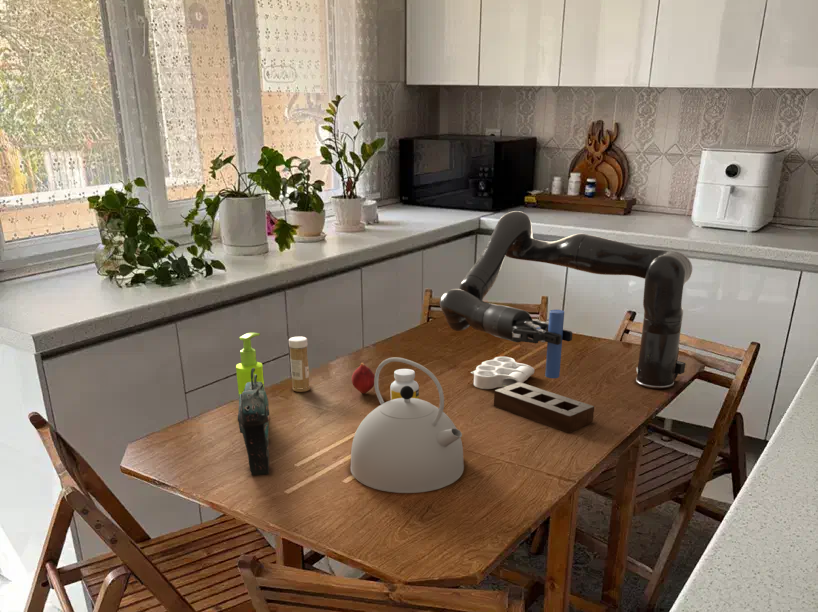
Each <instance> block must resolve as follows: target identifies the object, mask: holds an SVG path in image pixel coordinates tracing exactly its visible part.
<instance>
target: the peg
mask: <svg viewBox="0 0 818 612" xmlns="http://www.w3.org/2000/svg"><path fill="white" fill-rule="evenodd" d="M548 313H549V316H548V319H549V327H548V331H549V332H552V333H556V334H560V335H561V336H562V337H563V329H564V323H565V310H563V309H550V310H549V312H548ZM562 348H563V340H562V339H561V344H559V345H556V344H553V343H549V342H546V359H545V372H544V376H545V378H547V379H558V378H560V375H561V374H560V373H561V361H562V350H563V349H562Z"/></svg>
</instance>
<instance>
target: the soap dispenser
mask: <svg viewBox="0 0 818 612" xmlns="http://www.w3.org/2000/svg"><path fill="white" fill-rule="evenodd" d="M260 335H261V333H259V332H253V331H251V332H247V333H245V334H243V335H241V336H239V341H242V345H243V346H242V347H243V348H242V349H240V351H239V355H240V362H239V363H237V364H236V365H235V371H236V382H237V390H238V391H237V392H238V393H237V394H238V395H239V394H242V392H243V391H244V388H245V385H246V383H247V382H251V369H252V368H255V371H254V372H253V382H254V375H255V374H256V375H257V380H256V382H262V383H263V384H264V385H263V386H264V387H265V380H264V379H265V378H264V367H263V363H262V362H259V361H258V360H257V351H256V348H254V347H252V339H253V338H255V337H259V336H260Z"/></svg>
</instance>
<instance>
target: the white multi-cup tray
mask: <svg viewBox="0 0 818 612" xmlns="http://www.w3.org/2000/svg"><path fill="white" fill-rule="evenodd" d="M535 372H536V371H535V368H534V367H533V366H532V365H530V364H526V363H522V362H517V361H516V360H515V358H512V357H510V356H495V357H494V358H492V359H489V360H484V361H482V362H481V364H479V365H476V368H475V370H472V371H470V374H472V375H473V386H474V387H475V388H477V389H481V390H495V389H498V388H503V387H506V386H509V385H512V384H515V383H518V382H521V383H524V382H525V381H527V380H528V379H529V378H530V377H532V376H533V375H534V374H535Z"/></svg>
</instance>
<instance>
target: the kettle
mask: <svg viewBox="0 0 818 612" xmlns="http://www.w3.org/2000/svg"><path fill="white" fill-rule="evenodd" d="M393 362H395V363H396V362H397V363H403V364H406V365H409V366H412V367H414V368H416V369H419V370H420V371H422V372H423V373H425V374H426V375H427V376H428V377H429V378H430V379H431V380H432V381H433V383H434V384H435V386H436V388H437V392H438V395H439V407H438V406H436V405H434V404H432V403H431V402H429V401H426V400H424V399H421V398H419V399H417V398H412V396H413V394H414V391H413V389H412V388H411V387H410V386H404V387H402V389H401V390H400V395H401V397H402V398H397V399H393V400H391V399H390V400H388V401H387V400H386V402H385V401H384V399H383V396H382V393H381V391H380V387H379V386H380V385H379V379H380V373H381V371H382V370H383V368H384V366H386V365H387V364H389V363H393ZM374 375H375V380H374V391H375V394H376V397H377V400H378V402H379V404H380V405H378V406H377V407H375V408H374V409H372V410H371V411H370V412H369V413H368V414H367V415H366V416H365V417H364V418H363V419H362V421H361V422H360V423H359V425H358V426H357V429H356V431H355V432H354V435H353V439H352V443H351V448H350V473H351V475H352V477H353V478H354V479H356V481H358V482H359V483H361V484H362V485H364V486H366V487H368V488H371V489H374V490H377V491H383V492H388V493H395V494H396V493H397V494H415V493H416V494H417V493H426V492H431V491H437V490H440V489H442V488H445V487H447V486H450V485H452V484H453V483H455V482H456V481H458V480H459V479H460V478H461V476H462V475H463V473H464V469H465V465H464V447H463V442H462V437H463V433H462V431H461V430H460V429H458V428H457V427H456V425H455V423H454V422H453V420H452V419H451V418H450V417H449V416H448V414H446V413H445V411H444V408H445V396H444V390H443V386H442V385H441V383H440V381H439V379H438V378H437V377H436V375H435V374H434V373H433V372H432V371H431V370H430V369H428V368H426V367H425V366H424V365H422V364H420V363H418V362H415V361H413V360H410V359H408V358H403V357H396V356H395V357H389V358H386V359H384V360H382V361H381V363H379V365H378V366H377V368H376V370H375V373H374Z"/></svg>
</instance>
